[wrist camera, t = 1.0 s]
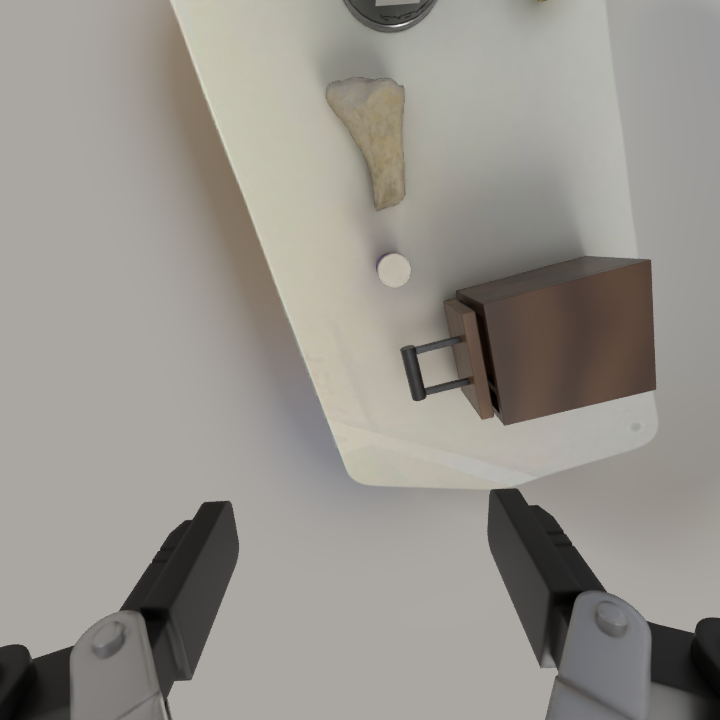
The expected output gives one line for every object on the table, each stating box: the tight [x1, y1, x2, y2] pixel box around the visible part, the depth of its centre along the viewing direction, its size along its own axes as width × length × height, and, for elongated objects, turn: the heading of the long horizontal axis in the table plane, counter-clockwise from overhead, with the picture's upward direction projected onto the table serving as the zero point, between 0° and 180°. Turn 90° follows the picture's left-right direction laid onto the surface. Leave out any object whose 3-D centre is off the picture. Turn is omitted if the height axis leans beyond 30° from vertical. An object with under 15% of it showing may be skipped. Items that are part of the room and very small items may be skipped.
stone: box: [326, 77, 406, 211], centre depth 33 cm, size 11×6×5 cm, turn 27°
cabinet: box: [456, 256, 656, 426], centre depth 37 cm, size 14×12×9 cm
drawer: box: [400, 299, 497, 420], centre depth 37 cm, size 18×10×7 cm, turn 105°
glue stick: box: [376, 253, 411, 288], centre depth 36 cm, size 3×3×6 cm
